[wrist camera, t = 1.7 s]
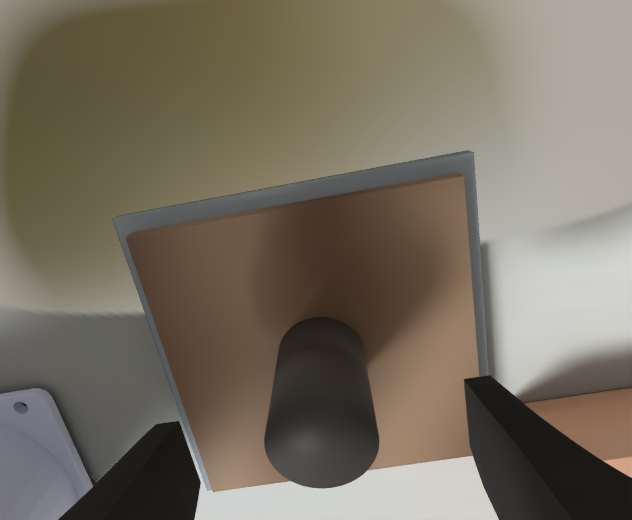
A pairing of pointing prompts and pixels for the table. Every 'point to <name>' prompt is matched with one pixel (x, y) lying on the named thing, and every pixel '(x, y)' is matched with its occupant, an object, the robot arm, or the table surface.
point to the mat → (308, 191)
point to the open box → (595, 423)
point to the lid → (319, 332)
